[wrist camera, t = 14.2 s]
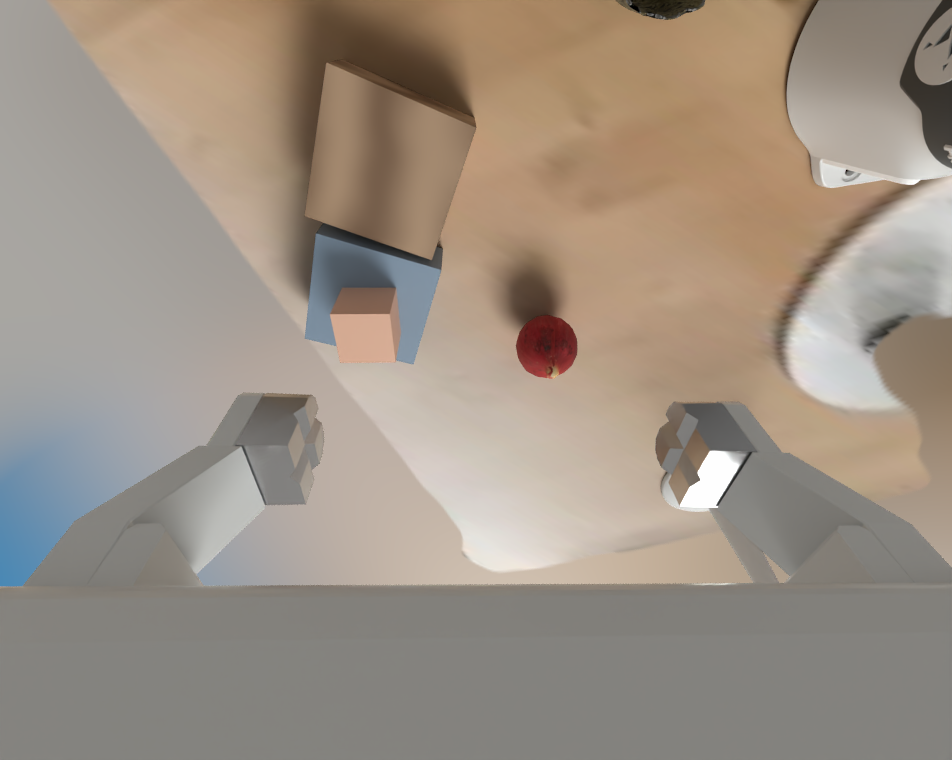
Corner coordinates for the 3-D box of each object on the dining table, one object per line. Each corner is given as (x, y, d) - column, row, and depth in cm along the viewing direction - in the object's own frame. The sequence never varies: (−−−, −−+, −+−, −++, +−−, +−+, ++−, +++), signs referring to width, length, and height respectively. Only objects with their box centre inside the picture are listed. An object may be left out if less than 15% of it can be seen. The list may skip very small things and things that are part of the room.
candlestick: (647, 472, 60) (772, 755, 36) (744, 433, 56) (955, 725, 32) (677, 517, 66) (797, 781, 43) (764, 485, 62) (951, 758, 39)
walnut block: (474, 117, 33) (476, 127, 30) (434, 237, 39) (431, 260, 35) (343, 59, 31) (326, 62, 27) (320, 196, 37) (304, 215, 33)
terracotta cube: (396, 287, 37) (389, 314, 33) (401, 333, 39) (395, 362, 36) (342, 287, 36) (329, 314, 33) (350, 333, 39) (340, 362, 36)
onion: (509, 306, 43) (518, 352, 37) (567, 296, 43) (586, 341, 37) (516, 353, 47) (525, 402, 41) (570, 345, 46) (587, 393, 40)
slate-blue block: (442, 247, 40) (441, 270, 36) (417, 336, 46) (413, 364, 42) (330, 213, 38) (316, 233, 34) (318, 311, 43) (304, 338, 39)
